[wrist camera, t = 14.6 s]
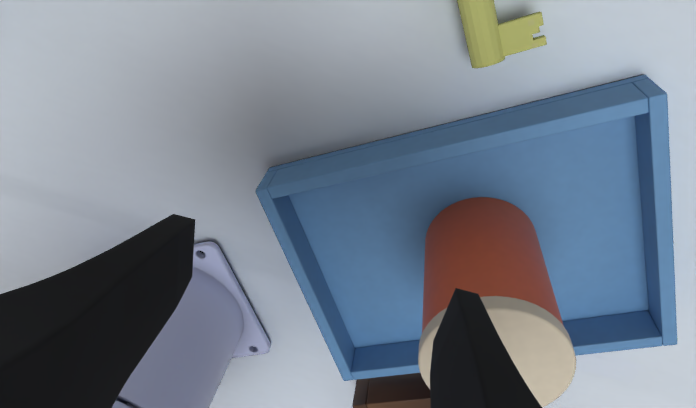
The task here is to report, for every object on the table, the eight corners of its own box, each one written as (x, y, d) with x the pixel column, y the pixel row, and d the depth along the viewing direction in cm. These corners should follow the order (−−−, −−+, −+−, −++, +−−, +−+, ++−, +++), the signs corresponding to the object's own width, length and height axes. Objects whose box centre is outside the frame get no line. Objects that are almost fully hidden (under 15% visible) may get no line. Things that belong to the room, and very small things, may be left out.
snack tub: (441, 296, 26) (442, 425, 20) (408, 211, 24) (397, 325, 17) (549, 274, 24) (589, 407, 18) (524, 181, 22) (560, 295, 16)
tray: (349, 349, 30) (343, 381, 28) (269, 167, 24) (254, 190, 22) (659, 310, 25) (677, 344, 23) (644, 73, 20) (667, 92, 18)
